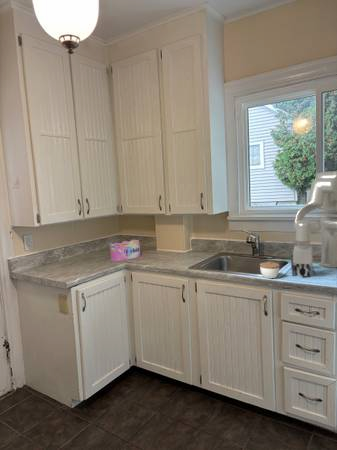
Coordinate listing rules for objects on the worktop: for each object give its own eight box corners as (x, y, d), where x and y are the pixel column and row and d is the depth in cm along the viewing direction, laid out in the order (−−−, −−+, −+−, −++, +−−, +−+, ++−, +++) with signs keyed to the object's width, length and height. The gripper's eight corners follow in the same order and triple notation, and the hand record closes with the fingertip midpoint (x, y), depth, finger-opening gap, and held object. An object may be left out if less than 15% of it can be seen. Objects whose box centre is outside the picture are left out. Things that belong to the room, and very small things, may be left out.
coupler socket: (291, 268, 210) (291, 254, 209) (310, 269, 207) (310, 254, 206) (292, 276, 194) (292, 260, 193) (312, 276, 190) (312, 261, 189)
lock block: (297, 273, 199) (297, 264, 199) (306, 273, 198) (306, 264, 197) (297, 276, 193) (297, 267, 192) (306, 276, 191) (306, 267, 190)
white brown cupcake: (275, 274, 198) (275, 259, 197) (282, 279, 188) (282, 263, 187) (257, 275, 198) (257, 260, 197) (263, 280, 187) (263, 264, 186)
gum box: (136, 255, 271) (135, 238, 269) (142, 256, 265) (141, 239, 263) (110, 260, 256) (109, 243, 254) (116, 261, 250) (115, 244, 248)
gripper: (288, 244, 187) (288, 276, 189) (317, 245, 182) (317, 277, 184) (288, 242, 194) (288, 273, 196) (316, 242, 189) (315, 274, 191)
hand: (302, 275), depth 190 cm, fingers closed
